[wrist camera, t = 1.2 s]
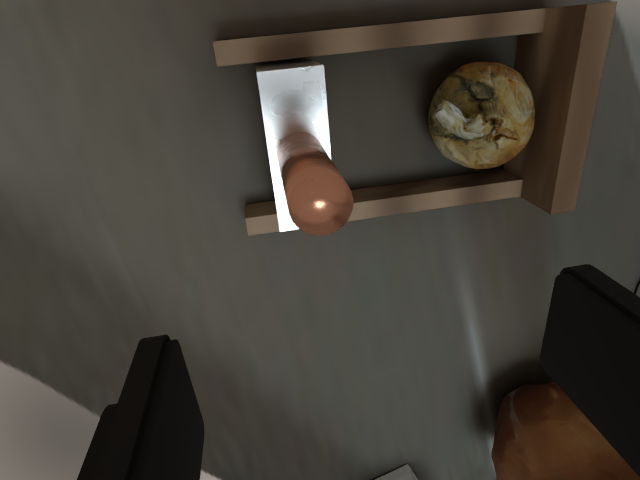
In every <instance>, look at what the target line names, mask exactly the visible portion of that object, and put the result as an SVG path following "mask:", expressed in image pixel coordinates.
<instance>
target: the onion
mask: <svg viewBox="0 0 640 480" xmlns="http://www.w3.org/2000/svg"><path fill="white" fill-rule="evenodd" d="M534 121H535V106H534V99H533V96H532V92H531V89H530V88H529V86H528V85H527V83H526V82H525V80H524V79H523V78H522V76H521V74H520V73H519V72H517V71H516V70H514V69H512V68H511V67H508V66H506V65H503V64H500V63H496V62H473V63H469V64H466V65H463V66H461V67H460V68H458V69H457V70H455V71H453V72H452V73H451V74H450V75H448V76H447V78H446V79H445V80H444V81H443V82H442V83H441V85H440V86H439V87H438V89H437V91H436V93H435V94H434V96H433V99H432V102H431V105H430V109H429V115H428V124H429V130H430V133H431V136H432V138H433V141H434V143H435V145H436V147H437V148H438V149H439V151H440V152H441V154H442V155H443V156H445V157H446V158H448V159H450V160H452V161H454V162H456V163H458V164H460V165H462V166H465V167H468V168H474V169H488V168H493V167H497V166H500V165H502V164H504V163H506V162H508V161H509V160H511V159H512V158H514V157H515V156H516V155H517V154H518V153H519V152H520V151H521V150H523V148H524V147H525V146H526V145H527V143H528V141H529V139H530V137H531V135H532V132H533V128H534Z"/></svg>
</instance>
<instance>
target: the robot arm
mask: <svg viewBox="0 0 640 480" xmlns="http://www.w3.org/2000/svg"><path fill="white" fill-rule="evenodd" d="M540 361H541V364H542V367H543V369H544V370H545V371H546V372H547V374H548V375H549V376H550V377H551V378H552V379H553V380H554V381H555V383H556V384H557V385H558V386H559V387H560V388H561V389H562V390H563V392H564V393H565V394H566V395H567V396H568V397H569V398H570V399H571V401H572V402H573V403H574V404H575V405H576V406H577V407H578V409H579V410H580V411H581V412H582V413H583V414H584V415H585V416H586V418H587V419H588V420H589V421H590V422H591V423H592V424H593V425H594V427H595V428H596V429H597V430H598V431H599V432H600V433H601V434H602V436H603V437H604V438H605V439H606V440H607V441H608V442H609V443H610V445H611V446H612V447H613V448H614V449H615V450H616V451H617V453H618V454H619V455H620V456H621V457H622V458H623V459H624V460H625V462H626V463H627V464H628V465H629V466H630V467H631V468H632V469H633V471H634V472H635V473H636V474H637V475H638V476H639V477H640V284H639V286H638V289H637V292H636V295H635V294H634V293H632V292H631V291H629V290H628V289H626V288H625V287H623V286H622V285H620V284H619V283H617V282H616V281H614V280H613V279H611V278H610V277H608V276H607V275H605V274H604V273H603V272H601V271H600V270H598V269H597V268H595V267H594V266H591V265H587V264H585V265H579V266H573V267H567V268H564V269H563V270H562V271H561V272H560V275H558V276H557V277H556V279H555V282H554V287H553V292H552V298H551V303H550V308H549V313H548V318H547V323H546V328H545V333H544V338H543V343H542V348H541V353H540ZM203 443H204V423H203V418H202V415H201V412H200V409H199V405H198V402H197V399H196V396H195V392H194V389H193V386H192V383H191V380H190V376H189V373H188V370H187V367H186V363H185V360H184V357H183V354H182V350H181V347H180V344H179V342H178V340H170V338H169V336H168V335H161V336H155V337H149V338H143V339H141V340H140V341H139V343H138V346H137V349H136V352H135V355H134V358H133V361H132V363H131V366H130V369H129V372H128V375H127V378H126V381H125V384H124V386H123V389H122V392H121V395H120V398H119V401H118V404H112V405H108V406H107V407H106V408H105V409H104V411H103V413H102V415H101V418H100V420H99V423H98V425H97V428H96V431H95V433H94V436H93V439H92V441H91V444H90V447H89V449H88V452H87V455H86V457H85V460H84V462H83V465H82V468H81V471H80V473H79V476H78V478H77V480H200V471H201V462H202V452H203Z"/></svg>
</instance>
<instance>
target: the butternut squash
mask: <svg viewBox="0 0 640 480" xmlns="http://www.w3.org/2000/svg"><path fill="white" fill-rule="evenodd" d="M492 460H493V463H494V467H495V471H496V475H497V477H496V479H497V480H640V477H639V476H638V475H637V474H636V473H635V472H634V471H633V469H632V468H631V467H630V466H629V465H628V464H627V463H626V462H625V460H624V459H623V458H622V457H621V456H620V455H619V454H618V453H617V451H616V450H615V449H614V448H613V447H612V446H611V445H610V443H609V442H608V441H607V440H606V439H605V438H604V437H603V436H602V434H601V433H600V432H599V431H598V430H597V429H596V428H595V427H594V425H593V424H592V423H591V422H590V421H589V420H588V419H587V418H586V416H585V415H584V414H583V413H582V412H581V411H580V410H579V409H578V407H577V406H576V405H575V404H574V403H573V402H572V401H571V399H570V398H569V397H568V396H567V395H566V394H565V393H564V392H563V390H562V389H561V388H560V387H559V386H558V385H557V384H555V383H553V382H549V383H546V384H540V385H533V384H525V385H523V386H521V387H519V388H518V389H516V390H514V391H512V392H510V393H509V394H507V395H506V396H505V397H504V399H503V401H502V403H501V406H500V409H499V412H498V417H497V423H496V430H495V437H494V443H493V448H492Z"/></svg>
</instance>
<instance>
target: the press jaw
mask: <svg viewBox="0 0 640 480" xmlns="http://www.w3.org/2000/svg"><path fill="white" fill-rule="evenodd" d="M256 73H257V80H258V87H259V94H260V100H261V107H262V114H263V121H264V128H265V135H266V141H267V148H268V155H269V162H270V169H271V176H272V182H273V189H274V196H275V203H276V209H277V216H278V223H279V229H280V232H282V231H289V230H296V229H300V230H302V231H304V232H306V233H308V234H312V235H326V234H330V233H333V232H335V231H337V230H338V229H340V228H341V227H342V226H343V225H344V224H345V223H346V222H347V221H348V219H349V218H350V216H351V213H352V210H353V195H352V192H351V190H350V188H349V186H348V185H347V183H346V182H345V180H344V179H343V177H342V176H341V174H340V173H339V171H338V169H337V168H336V166H335V165H334V163H333V162H332V160H331V150H330V137H329V124H328V112H327V99H326V86H325V73H324V65H323V64H320V63H318V62H315V61H313V60H303V61H294V62H284V63H275V64H265V65H256Z"/></svg>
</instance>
